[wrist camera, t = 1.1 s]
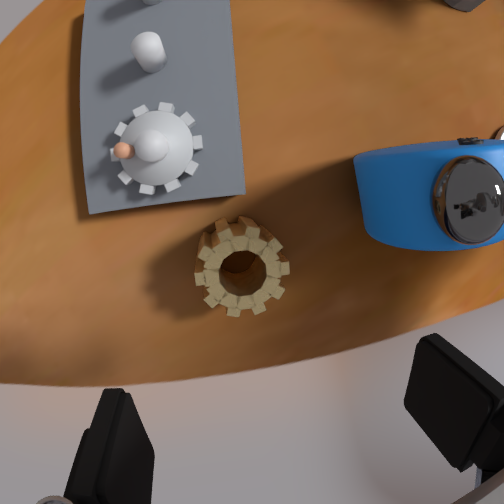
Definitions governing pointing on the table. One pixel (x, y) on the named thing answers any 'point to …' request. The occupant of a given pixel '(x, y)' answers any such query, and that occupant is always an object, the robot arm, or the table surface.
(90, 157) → the gear board
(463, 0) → the coffeepot
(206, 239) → the brass gear
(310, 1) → the table surface
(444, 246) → the alarm clock
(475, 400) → the robot arm
